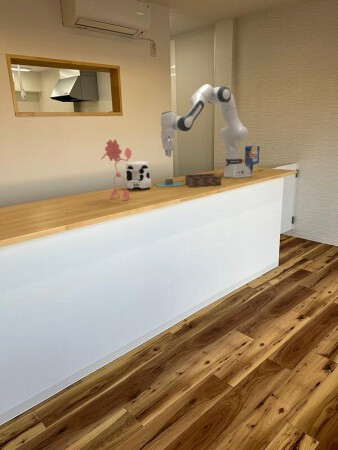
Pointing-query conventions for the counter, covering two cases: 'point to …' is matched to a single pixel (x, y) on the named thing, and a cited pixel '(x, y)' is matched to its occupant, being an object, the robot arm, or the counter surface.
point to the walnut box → (202, 180)
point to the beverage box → (252, 158)
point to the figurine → (114, 153)
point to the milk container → (138, 175)
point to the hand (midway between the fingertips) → (168, 156)
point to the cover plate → (169, 183)
